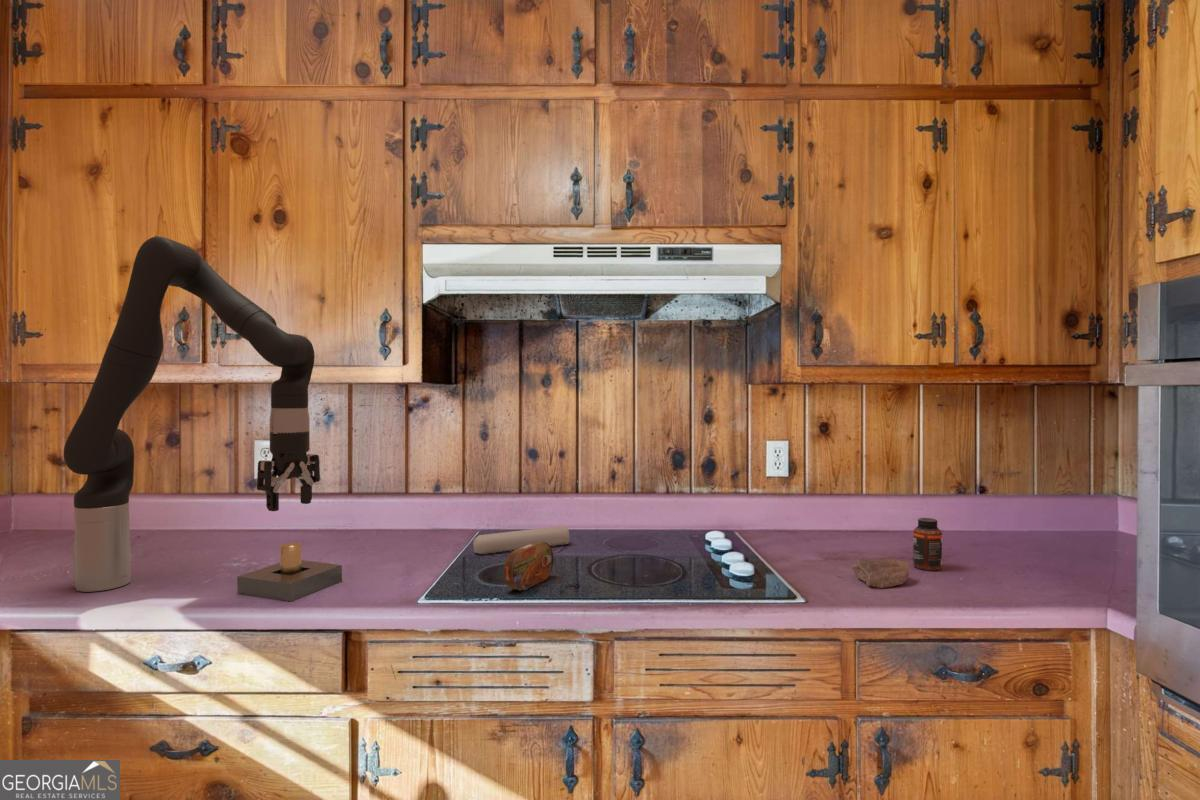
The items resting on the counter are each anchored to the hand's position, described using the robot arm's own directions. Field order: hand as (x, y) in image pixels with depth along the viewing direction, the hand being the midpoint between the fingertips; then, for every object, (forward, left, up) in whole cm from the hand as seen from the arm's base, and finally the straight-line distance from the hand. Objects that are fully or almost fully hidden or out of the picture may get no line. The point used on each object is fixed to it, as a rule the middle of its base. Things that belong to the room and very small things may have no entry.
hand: (289, 507), depth 136 cm
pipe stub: (0, 0, -17) cm, 17 cm away
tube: (+31, +45, -17) cm, 57 cm away
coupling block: (0, 0, -17) cm, 17 cm away
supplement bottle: (+127, +62, -17) cm, 142 cm away
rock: (+116, +47, -17) cm, 126 cm away
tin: (+46, +19, -17) cm, 53 cm away
